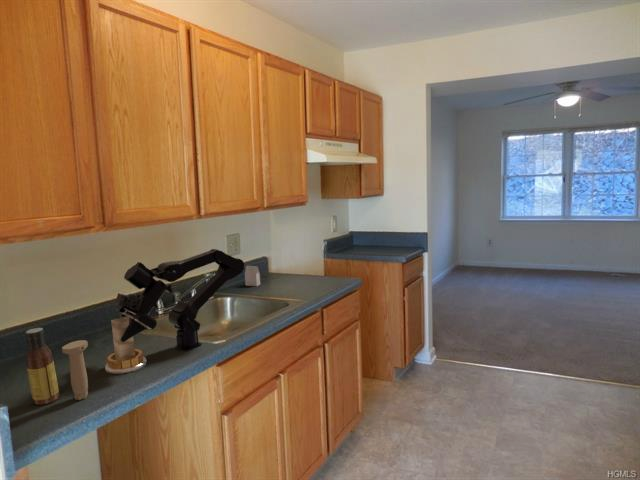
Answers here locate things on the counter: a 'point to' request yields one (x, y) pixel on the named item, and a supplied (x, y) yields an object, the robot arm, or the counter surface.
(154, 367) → the counter surface
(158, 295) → the robot arm
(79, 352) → the handle
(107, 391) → the counter surface
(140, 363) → the segmented gold bowl
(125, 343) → the post
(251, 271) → the small carton
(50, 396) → the sauce bottle
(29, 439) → the counter surface
